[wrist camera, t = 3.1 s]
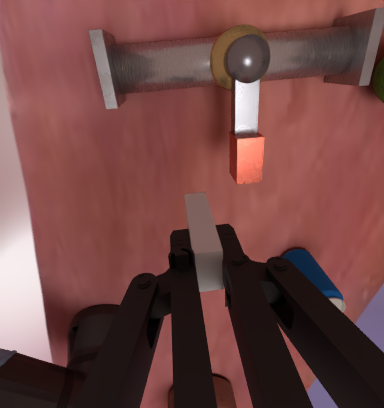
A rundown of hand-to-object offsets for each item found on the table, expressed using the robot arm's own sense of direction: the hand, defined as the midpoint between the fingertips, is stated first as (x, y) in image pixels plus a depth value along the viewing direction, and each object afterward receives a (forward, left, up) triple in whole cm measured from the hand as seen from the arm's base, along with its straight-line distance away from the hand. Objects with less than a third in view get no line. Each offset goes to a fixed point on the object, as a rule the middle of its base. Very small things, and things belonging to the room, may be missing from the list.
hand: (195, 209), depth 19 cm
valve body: (+7, +9, -20) cm, 23 cm away
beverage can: (+20, -26, -20) cm, 38 cm away
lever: (+7, +4, -13) cm, 15 cm away
